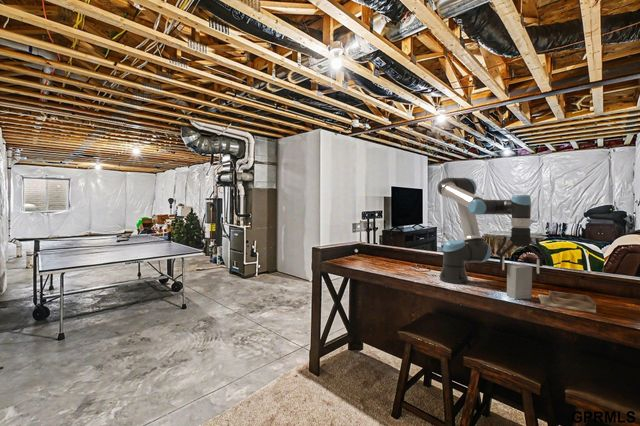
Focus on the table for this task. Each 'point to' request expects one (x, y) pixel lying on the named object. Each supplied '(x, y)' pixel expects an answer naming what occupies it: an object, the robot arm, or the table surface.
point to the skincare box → (519, 281)
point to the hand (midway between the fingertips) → (520, 271)
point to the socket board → (568, 301)
